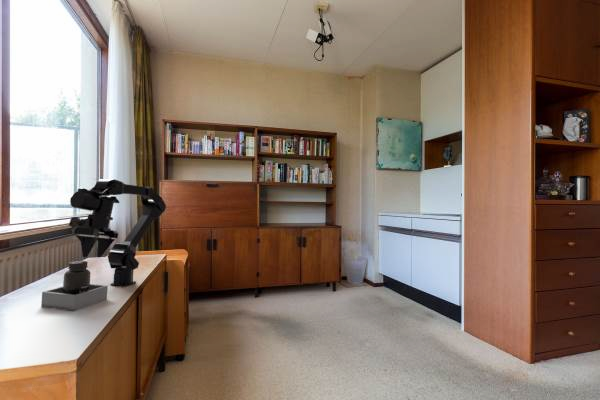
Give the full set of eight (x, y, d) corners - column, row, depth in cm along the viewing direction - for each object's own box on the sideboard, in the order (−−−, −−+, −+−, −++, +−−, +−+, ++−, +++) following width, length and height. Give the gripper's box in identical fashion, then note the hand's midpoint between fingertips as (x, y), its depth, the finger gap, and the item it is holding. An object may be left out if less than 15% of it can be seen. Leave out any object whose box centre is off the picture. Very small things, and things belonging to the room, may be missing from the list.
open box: (77, 295, 101) (77, 282, 101) (106, 299, 99) (107, 285, 99) (41, 306, 90) (42, 291, 90) (73, 311, 87) (74, 295, 87)
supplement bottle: (87, 302, 93) (89, 263, 93) (59, 304, 90) (62, 264, 90) (90, 296, 99) (92, 259, 99) (64, 298, 96) (66, 260, 96)
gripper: (92, 214, 115) (82, 254, 112) (61, 206, 97) (48, 255, 94) (122, 217, 117) (113, 257, 114) (97, 210, 99) (86, 258, 96)
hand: (92, 257), depth 104 cm, fingers open, 9 cm apart
